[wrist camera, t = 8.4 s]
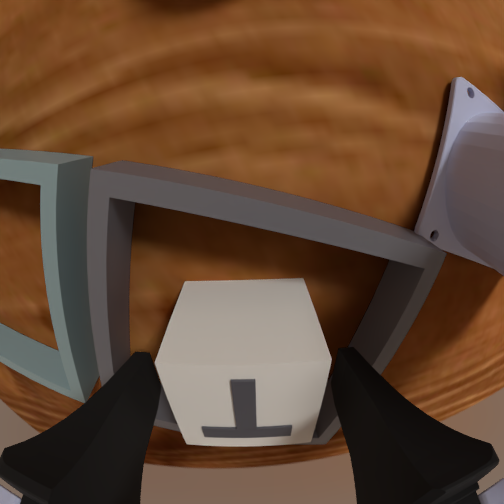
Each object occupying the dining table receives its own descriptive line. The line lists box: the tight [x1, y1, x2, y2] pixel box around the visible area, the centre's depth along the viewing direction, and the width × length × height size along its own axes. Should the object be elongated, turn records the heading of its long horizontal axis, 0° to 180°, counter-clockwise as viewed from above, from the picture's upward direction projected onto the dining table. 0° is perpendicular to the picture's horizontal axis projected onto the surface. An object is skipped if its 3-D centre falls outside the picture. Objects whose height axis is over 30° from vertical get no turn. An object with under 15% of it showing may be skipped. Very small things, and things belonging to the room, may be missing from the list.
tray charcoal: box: [87, 160, 447, 444], centre depth 12 cm, size 13×13×2 cm
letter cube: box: [155, 278, 332, 446], centre depth 11 cm, size 5×5×5 cm
